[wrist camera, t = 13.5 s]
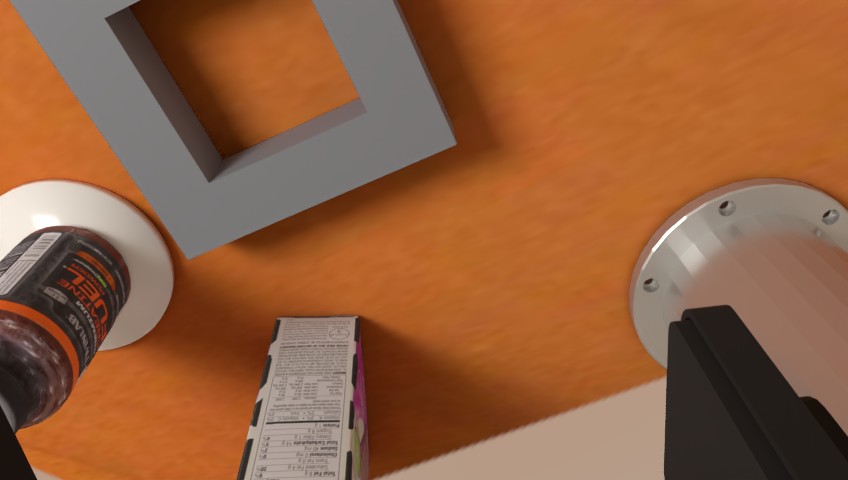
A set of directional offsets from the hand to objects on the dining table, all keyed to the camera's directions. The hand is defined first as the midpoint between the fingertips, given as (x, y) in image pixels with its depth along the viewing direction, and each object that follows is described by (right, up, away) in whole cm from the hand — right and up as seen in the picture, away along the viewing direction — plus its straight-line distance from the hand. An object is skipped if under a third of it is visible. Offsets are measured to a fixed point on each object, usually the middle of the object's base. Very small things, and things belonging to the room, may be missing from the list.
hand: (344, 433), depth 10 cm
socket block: (-7, +11, +23) cm, 27 cm away
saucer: (-17, +1, +28) cm, 33 cm away
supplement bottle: (-17, +1, +27) cm, 32 cm away
